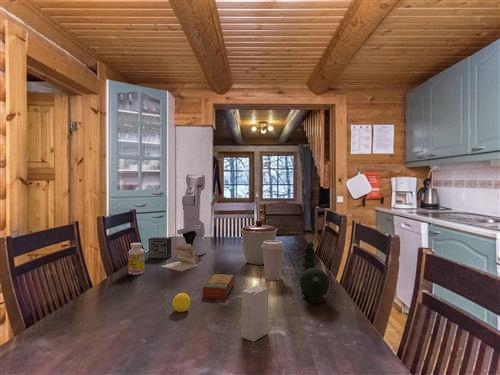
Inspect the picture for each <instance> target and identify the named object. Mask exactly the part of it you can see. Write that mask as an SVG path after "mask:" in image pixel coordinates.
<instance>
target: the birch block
mask: <svg viewBox="0 0 500 375" xmlns="http://www.w3.org/2000/svg"><path fill="white" fill-rule="evenodd" d="M173 250H174V251H175V253H176V256H177V257H178V258H179V260H180V262H185V263H190V264H196V265H197V263H198V262H199V260H200V258H199V256H197V254H196V252H195V251H194V249H193V247H192V246H191V244H186V242H185V243H183V242H177V244H176V245H175V246H174V248H173Z"/></svg>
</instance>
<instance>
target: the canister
mask: <svg viewBox="0 0 500 375" xmlns="http://www.w3.org/2000/svg"><path fill="white" fill-rule="evenodd" d="M263 223H264V222H263V220H262V219H257V220H255V224H249V225H244V226H243V227H242V228H240V232H241V235H242V246H243V253H244V259H245V261H246V263H248V264H250V265H254V264H255V266H256V265H257V266H262V265H263V264H264V260H263V249H262V248H261V246H262V244H263V242H264V241H269V240H276V239H277V238H276V236H277V232H278V228H276V227H275V226H274V225H269V224H263ZM263 266H264V265H263Z"/></svg>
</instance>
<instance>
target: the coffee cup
mask: <svg viewBox="0 0 500 375" xmlns="http://www.w3.org/2000/svg"><path fill="white" fill-rule="evenodd" d="M261 248H262V249H263V260H264V265H263V269H264V280H266V279H267V280H266V281H269V280H278V279H280V280H281V279H282V269H283V260H284V259H283V257H284V249H285V244H284V242H283V241H281V240H277V239H275V240H269V241H264V242H263V244H262V246H261ZM278 281H279V280H278Z"/></svg>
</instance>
